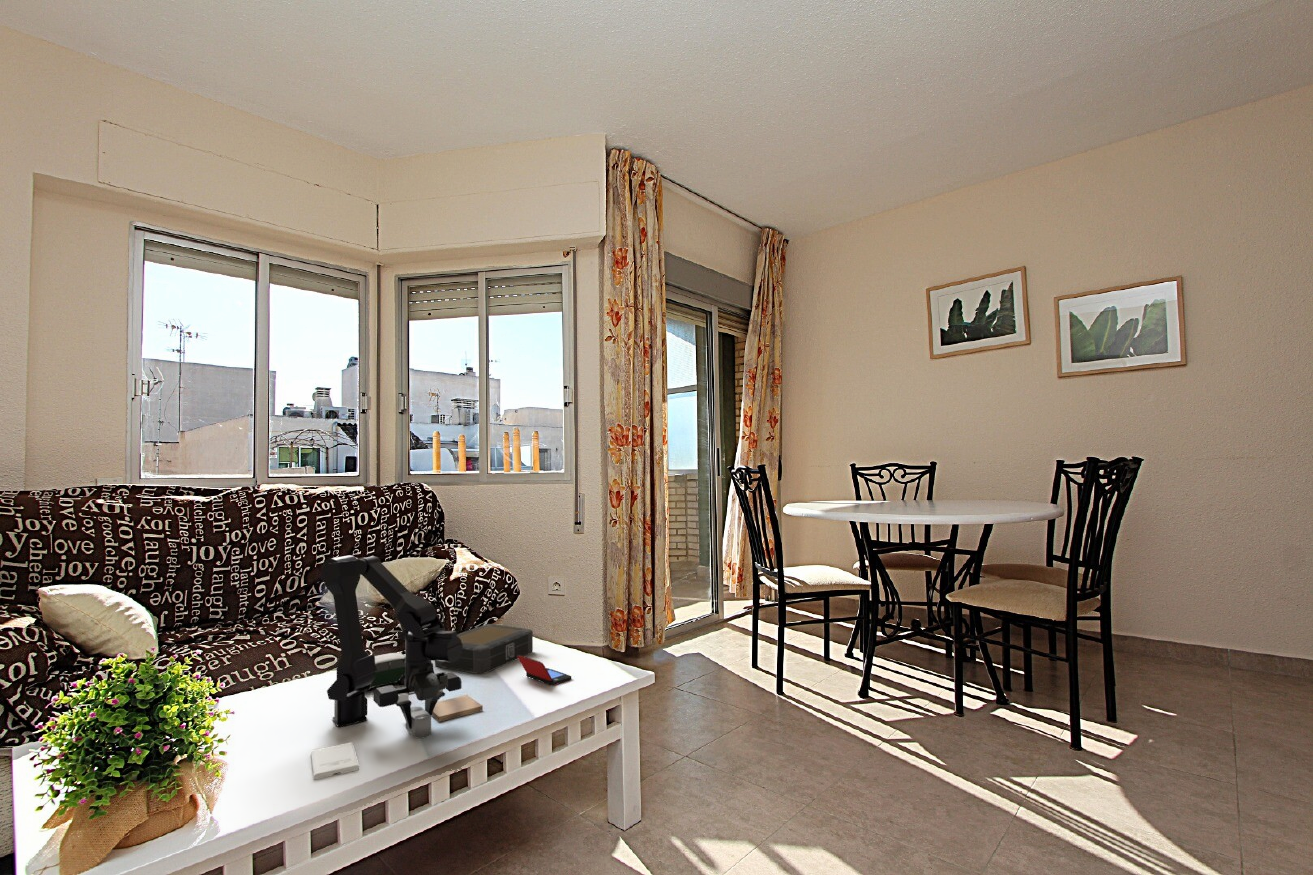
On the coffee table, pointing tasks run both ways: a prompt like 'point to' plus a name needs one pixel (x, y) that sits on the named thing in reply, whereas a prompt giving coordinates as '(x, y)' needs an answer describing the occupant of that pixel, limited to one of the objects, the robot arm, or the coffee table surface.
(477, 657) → the cash box
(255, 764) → the coffee table surface
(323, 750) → the external hard drive
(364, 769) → the coffee table surface
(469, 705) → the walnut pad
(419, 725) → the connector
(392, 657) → the miniature car
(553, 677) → the handheld game console
